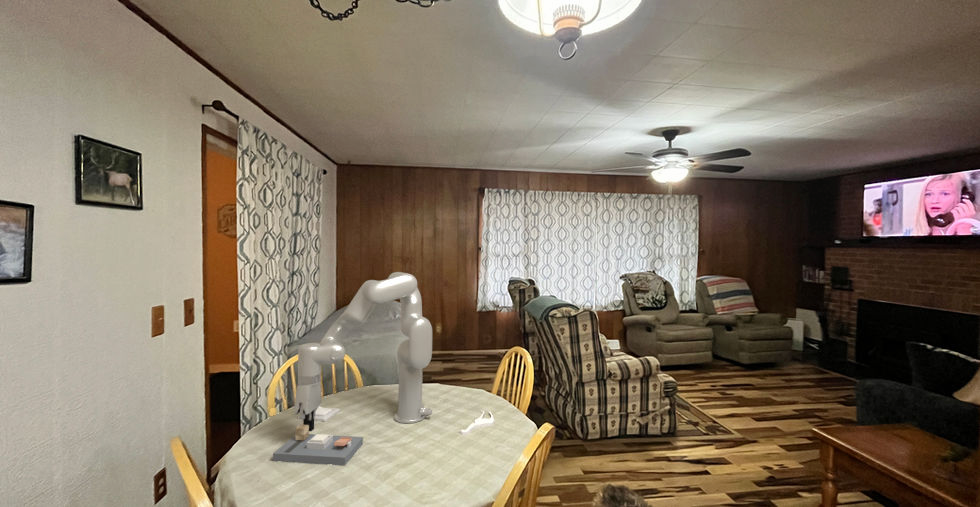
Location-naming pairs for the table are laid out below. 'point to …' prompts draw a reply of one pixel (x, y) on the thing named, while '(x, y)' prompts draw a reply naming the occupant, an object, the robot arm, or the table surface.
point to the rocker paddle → (343, 441)
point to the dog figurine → (478, 423)
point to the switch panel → (318, 450)
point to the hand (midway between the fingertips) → (308, 430)
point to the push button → (320, 438)
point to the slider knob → (302, 432)
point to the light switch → (324, 413)
